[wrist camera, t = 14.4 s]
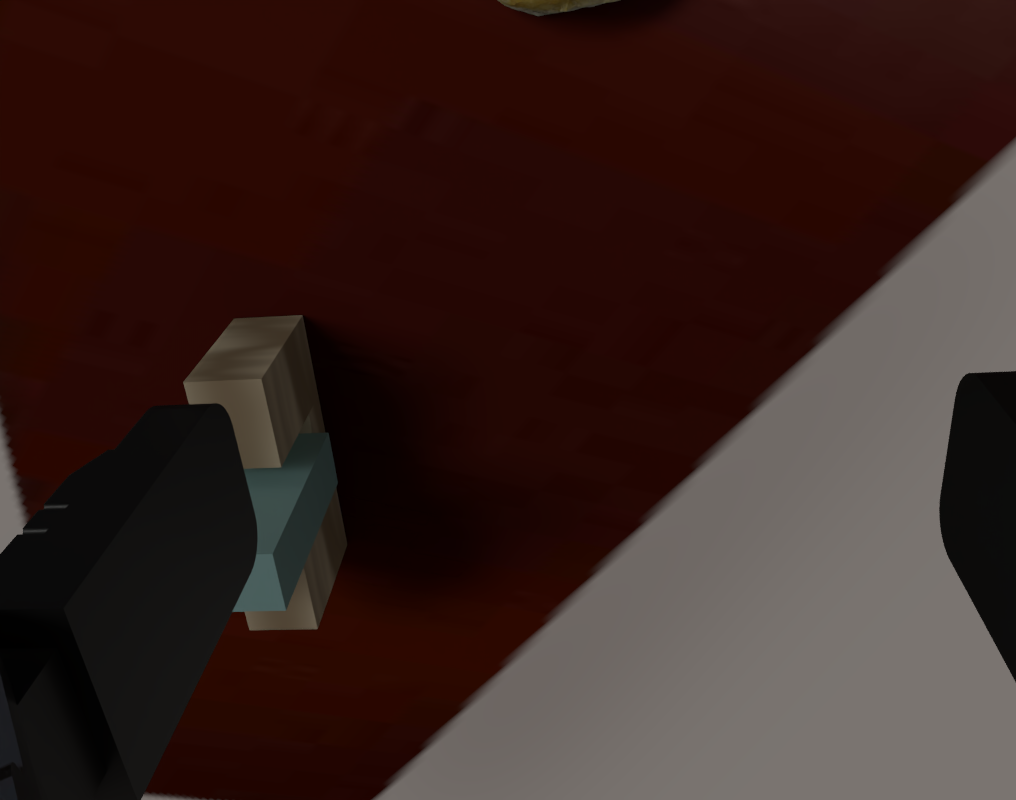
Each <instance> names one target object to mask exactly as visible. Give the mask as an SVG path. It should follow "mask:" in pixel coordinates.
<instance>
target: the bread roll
mask: <svg viewBox="0 0 1016 800" xmlns="http://www.w3.org/2000/svg"><path fill="white" fill-rule="evenodd" d="M498 1H499V2H500V3H502V4H503V5H505V6H507V7H510V8H512V9H515V10H517V11H523V12H526V13H529V14H533V15H536V16H542V15H548V14H553V13H559V12H569V11H574V10H577V9H580V8H584V7H595V6H597V5H600V4H603V3H608V2H616V1H619V0H498Z"/></svg>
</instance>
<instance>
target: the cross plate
mask: <svg viewBox="0 0 1016 800" xmlns="http://www.w3.org/2000/svg"><path fill="white" fill-rule="evenodd" d="M244 472H245V476H246V480H247V484H248V488H249V492H250V496H251V500H252V504H253V508H254V512H255V516H256V522H257V533H258V542H257V553H256V559H255V563H254V567H253V569H252V572H251V574H250V576H249V578H248V580H247V582H246V584H245V587H244V589H243V591H242V593H241V595H240V597H239V599H238V601H237V603H236V605H235V607H234V609H233V611H232V612H244V611H286V610H287V607H288V605H289V602H290V600H291V597H292V595H293V592H294V590H295V587H296V585H297V582H298V580H299V578H300V575H301V573H302V570H303V568H304V565H305V563H306V560H307V558H308V555H309V553H310V550H311V548H312V545H313V543H314V541H315V538H316V536H317V533H318V531H319V528H320V526H321V523H322V521H323V518H324V516H325V513H326V511H327V509H328V506H329V504H330V501H331V499H332V496H333V494H334V491H335V489H336V486H337V484H338V480H337V475H336V470H335V464H334V459H333V454H332V449H331V443H330V438H329V433H302V434H298V436H297V438H296V440H295V442H294V444H293V446H292V448H291V450H290V451H289V453H288V455H287V457H286V459H285V461H284V463H283V465H282V467H279V468H251V469H244Z"/></svg>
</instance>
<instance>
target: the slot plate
mask: <svg viewBox="0 0 1016 800" xmlns="http://www.w3.org/2000/svg"><path fill="white" fill-rule="evenodd" d="M183 383H184V387H185V390H186V394H187V398H188V402H189V404H211V403H218V404H221V405H222V406H223V407H224V408H225V409H226V411H227V412H228V414H229V416H230V419H231V421H232V425H233V429H234V432H235V436H236V440H237V444H238V448H239V452H240V456H241V460H242V464H243V468H244V469H251V468H279V467H282V465H283V463H284V461H285V459H286V457H287V455H288V453H289V451H290V450H291V448H292V446H293V444H294V442H295V440H296V438H297V436H298V434H302V433H326V432H325V427H324V422H323V417H322V412H321V407H320V402H319V397H318V391H317V386H316V381H315V376H314V371H313V366H312V361H311V356H310V350H309V345H308V340H307V335H306V330H305V325H304V320H303V315H297V316H277V317H258V318H238V319H234V320H233V321H232V322H231V323H230V325H229V326H228V327H227V328H226V330H225V331H224V332H223V333H222V335H221V336H220V337H219V338H218V340H217V341H216V342H215V343H214V345H213V346H212V347H211V348H210V350H209V351H208V352H207V353H206V355H205V356H204V357H203V358H202V360H201V361H200V362H199V363H198V365H197V366H196V367H195V368H194V370H193V371H192V372H191V373H190V375H189V376H188V377H187V378H186V380H185V381H184V382H183ZM346 547H347V540H346V535H345V530H344V524H343V519H342V514H341V509H340V504H339V499H338V494H337V489H335V491H334V494H333V496H332V499H331V501H330V504H329V506H328V509H327V511H326V513H325V516H324V518H323V521H322V523H321V526H320V528H319V531H318V533H317V536H316V538H315V541H314V543H313V545H312V548H311V550H310V553H309V555H308V558H307V560H306V563H305V565H304V568H303V570H302V573H301V575H300V578H299V580H298V582H297V585H296V587H295V590H294V592H293V595H292V597H291V600H290V602H289V605H288V607H287V610H286V611H245V615H246V618H247V622H248V626H249V630H289V629H318V626H319V624H320V621H321V618H322V615H323V612H324V609H325V607H326V604H327V601H328V598H329V595H330V592H331V590H332V587H333V584H334V581H335V578H336V575H337V573H338V570H339V567H340V564H341V561H342V558H343V556H344V553H345V550H346Z"/></svg>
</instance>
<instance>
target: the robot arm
mask: <svg viewBox="0 0 1016 800" xmlns="http://www.w3.org/2000/svg"><path fill="white" fill-rule="evenodd" d="M939 511H940V527H941V534H942V538H943V543H944V546H945V549H946V552H947V555H948V557H949V559H950V561H951V563H952V565H953V567H954V568H955V570H956V572H957V574H958V576H959V578H960V579H961V581H962V583H963V585H964V587H965V589H966V590H967V592H968V594H969V596H970V598H971V600H972V602H973V604H974V605H975V607H976V609H977V611H978V613H979V615H980V617H981V618H982V620H983V622H984V624H985V626H986V628H987V630H988V631H989V633H990V635H991V637H992V638H993V641H994V642H995V644H996V646H997V648H998V650H999V652H1000V654H1001V655H1002V657H1003V659H1004V661H1005V663H1006V665H1007V667H1008V668H1009V670H1010V672H1011V674H1012V676H1013V678H1014V679H1015V681H1016V371H1011V372H989V373H969V374H966V375H965V376H964V377H963V378H962V380H961V381H960V383H959V386H958V389H957V392H956V397H955V403H954V409H953V416H952V423H951V429H950V436H949V442H948V449H947V456H946V462H945V469H944V476H943V482H942V489H941V495H940V510H939ZM257 542H258V533H257V522H256V516H255V512H254V508H253V504H252V500H251V496H250V492H249V488H248V484H247V480H246V476H245V472H244V468H243V464H242V460H241V456H240V452H239V448H238V444H237V440H236V436H235V432H234V429H233V425H232V421H231V419H230V416H229V414H228V412H227V411H226V409H225V408H224V407H223V406H222V405H221V404H218V403H211V404H188V405H164V406H153V407H151V408H150V409H148V410H147V411H146V413H145V414H144V415H143V416H142V417H141V419H140V420H139V421H138V422H137V423H136V425H135V426H134V427H133V428H132V429H131V431H130V432H129V433H128V434H127V435H126V437H125V438H124V439H123V440H122V441H121V443H120V444H119V445H118V446H117V447H116V449H115V450H107V451H106V452H104V453H103V454H101V455H100V456H98V457H97V458H95V459H94V460H92V461H91V462H89V463H87V464H86V465H84V466H83V467H81V468H80V469H78V470H77V471H75V472H74V473H72V474H71V475H69V476H68V477H67V478H66V480H65V481H64V482H63V483H62V484H61V485H60V486H59V488H58V489H57V490H56V491H55V492H54V493H53V494H52V496H51V497H50V498H49V499H48V500H47V501H46V502H45V504H44V510H38V512H37V513H36V514H35V515H34V516H33V517H32V518H31V520H30V521H29V522H28V523H27V524H26V525H25V526H24V528H23V535H17V536H16V537H15V538H14V539H13V540H12V541H11V542H10V544H9V545H8V546H7V547H6V548H5V549H4V551H3V552H2V553H1V554H0V800H141V798H142V796H143V794H144V792H145V790H146V788H147V786H148V784H149V782H150V780H151V778H152V776H153V773H154V771H155V769H156V767H157V765H158V763H159V761H160V759H161V757H162V755H163V753H164V751H165V749H166V747H167V745H168V743H169V741H170V739H171V736H172V734H173V732H174V730H175V728H176V726H177V724H178V722H179V720H180V718H181V716H182V714H183V712H184V710H185V708H186V706H187V704H188V702H189V700H190V697H191V695H192V693H193V691H194V689H195V687H196V685H197V683H198V681H199V679H200V677H201V675H202V673H203V671H204V669H205V667H206V665H207V663H208V660H209V658H210V656H211V654H212V652H213V650H214V648H215V646H216V644H217V642H218V640H219V638H220V636H221V634H222V632H223V630H224V628H225V626H226V623H227V621H228V619H229V617H230V615H231V613H232V611H233V609H234V607H235V605H236V603H237V601H238V599H239V597H240V595H241V593H242V591H243V589H244V587H245V584H246V582H247V580H248V578H249V576H250V574H251V572H252V569H253V567H254V563H255V559H256V553H257Z"/></svg>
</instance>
